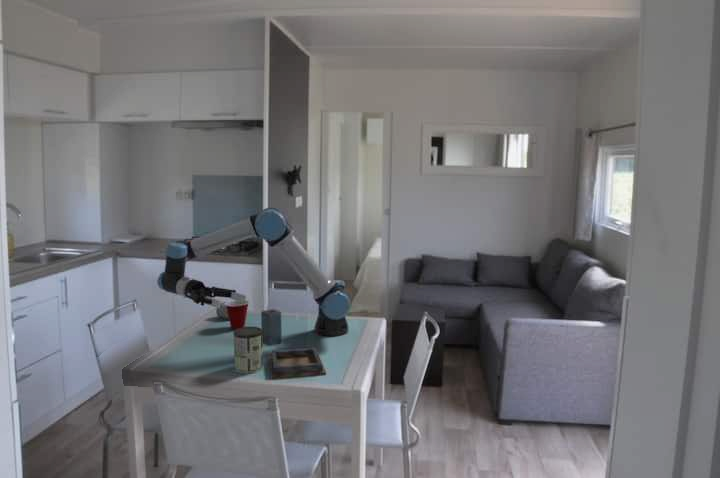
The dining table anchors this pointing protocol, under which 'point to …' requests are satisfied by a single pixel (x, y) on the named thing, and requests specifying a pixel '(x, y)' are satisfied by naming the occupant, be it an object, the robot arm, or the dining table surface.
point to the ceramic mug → (222, 311)
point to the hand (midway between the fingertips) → (232, 301)
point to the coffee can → (248, 349)
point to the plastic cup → (237, 313)
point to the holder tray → (295, 363)
